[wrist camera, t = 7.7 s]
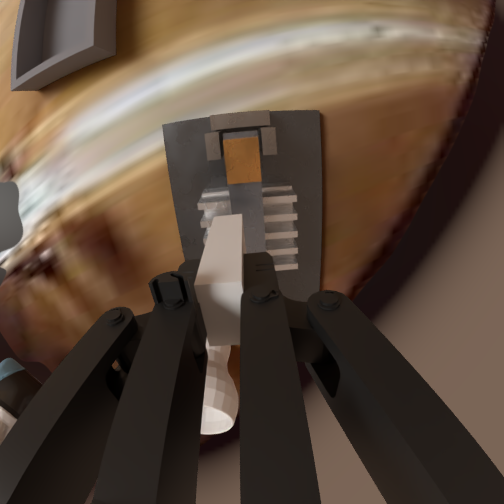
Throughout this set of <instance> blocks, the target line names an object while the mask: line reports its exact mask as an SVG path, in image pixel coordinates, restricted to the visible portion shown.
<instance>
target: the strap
mask: <svg viewBox="0 0 504 504" xmlns="http://www.w3.org/2000/svg"><path fill="white" fill-rule="evenodd" d="M223 147H224V156H225V165H226V174H227V183H228V186H229V195H230V203H231V212H232V215H235V214H242V218H243V227H244V236H245V245H246V254H247V253H257V252H266V241H265V226H264V212H263V197H262V184H261V181H262V180H261V167H260V154H259V142H258V132H257V131H244V132H234V133H224V134H223Z"/></svg>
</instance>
